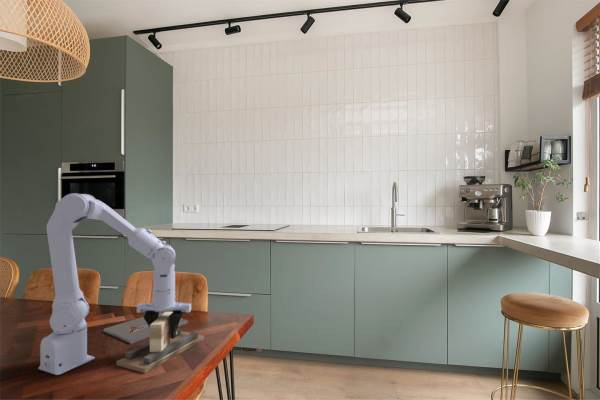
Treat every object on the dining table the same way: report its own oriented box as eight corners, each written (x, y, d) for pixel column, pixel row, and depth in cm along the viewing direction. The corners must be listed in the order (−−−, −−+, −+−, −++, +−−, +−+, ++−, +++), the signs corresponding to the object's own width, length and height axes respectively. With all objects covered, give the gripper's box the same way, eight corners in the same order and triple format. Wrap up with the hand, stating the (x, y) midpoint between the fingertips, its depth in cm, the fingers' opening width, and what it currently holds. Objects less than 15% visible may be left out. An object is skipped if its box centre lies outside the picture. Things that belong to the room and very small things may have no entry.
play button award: (187, 320, 115) (130, 340, 99) (187, 324, 115) (130, 345, 99) (160, 311, 124) (103, 328, 108) (160, 315, 124) (103, 333, 108)
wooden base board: (144, 373, 82) (144, 362, 82) (116, 365, 86) (116, 355, 86) (204, 339, 102) (204, 330, 102) (179, 333, 106) (179, 326, 106)
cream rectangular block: (161, 351, 88) (161, 325, 88) (149, 351, 88) (149, 325, 88) (177, 333, 100) (177, 310, 100) (166, 333, 100) (166, 310, 100)
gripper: (194, 285, 98) (194, 331, 98) (144, 285, 98) (144, 332, 98) (186, 291, 91) (186, 341, 91) (133, 292, 91) (132, 342, 91)
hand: (164, 337), depth 94 cm, fingers open, 4 cm apart
